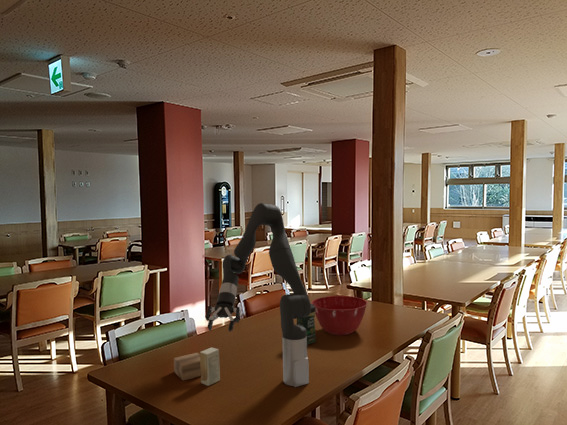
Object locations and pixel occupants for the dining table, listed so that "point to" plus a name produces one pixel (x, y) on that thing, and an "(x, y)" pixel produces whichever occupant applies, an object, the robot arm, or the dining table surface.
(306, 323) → the coffee jar
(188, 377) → the streaked beige block
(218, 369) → the skincare box
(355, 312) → the mixing bowl
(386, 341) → the dining table surface
